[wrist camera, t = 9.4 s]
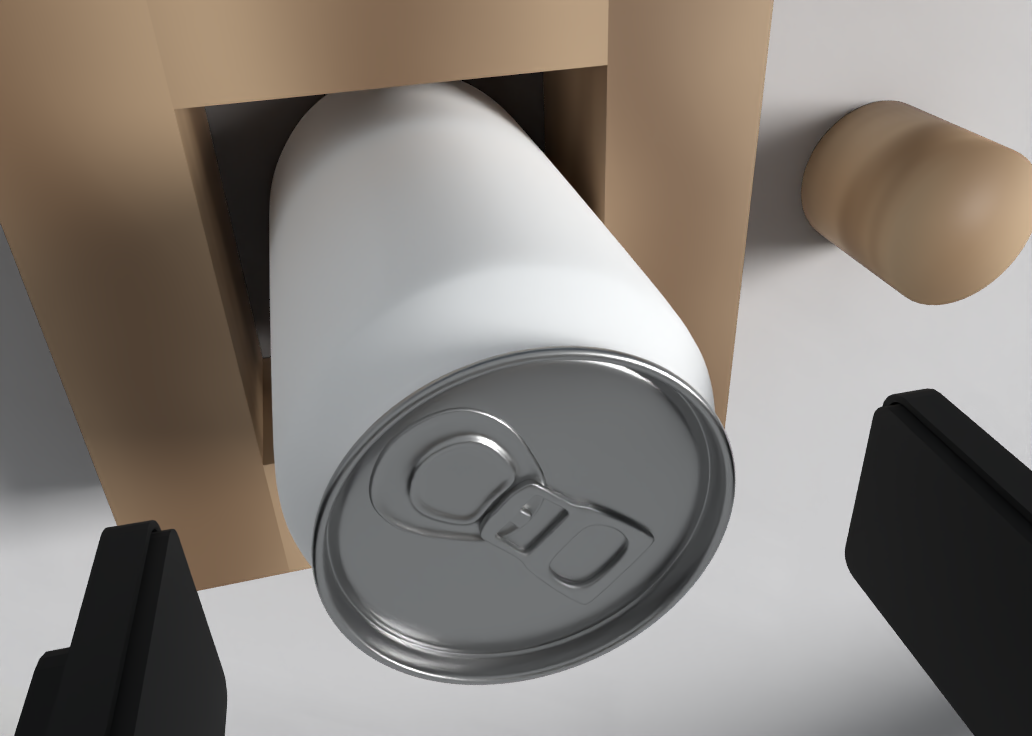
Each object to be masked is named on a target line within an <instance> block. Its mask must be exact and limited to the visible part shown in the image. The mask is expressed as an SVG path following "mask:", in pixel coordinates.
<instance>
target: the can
mask: <svg viewBox="0 0 1032 736" xmlns="http://www.w3.org/2000/svg"><path fill="white" fill-rule="evenodd" d="M269 260H270V328H271V377H272V418H273V448H274V462H275V475H276V484H277V490H278V495H279V500H280V504H281V509H282V512H283V516H284V519H285V522H286V524H287V527H288V529H289V531H290V534H291V536H292V538H293V540H294V541H295V543H296V545H297V546H298V548H299V550H300V551H301V553H302V555H303V556H304V557H305V559H306V560H307V562H308V563H309V564H310V566H311V567H312V569H313V575H314V580H315V584H316V588H317V591H318V594H319V596H320V599H321V601H322V603H323V605H324V607H325V609H326V611H327V613H328V615H329V616H330V618H331V619H332V621H333V622H334V624H335V625H336V626H337V627H338V629H339V630H340V631H341V632H342V633H343V634H344V635H345V637H346V638H348V639H349V640H350V641H351V642H352V643H353V644H354V645H355V646H356V647H358V648H359V649H360V650H361V651H363V652H364V653H366V654H367V655H369V656H370V657H372V658H373V659H375V660H377V661H378V662H380V663H382V664H384V665H386V666H388V667H391V668H393V669H395V670H398V671H400V672H403V673H406V674H408V675H412V676H415V677H419V678H423V679H427V680H432V681H437V682H443V683H451V684H464V685H490V684H503V683H512V682H519V681H525V680H530V679H535V678H539V677H543V676H547V675H551V674H554V673H558V672H561V671H564V670H567V669H570V668H573V667H576V666H578V665H581V664H583V663H586V662H588V661H591V660H593V659H595V658H597V657H599V656H602V655H604V654H606V653H608V652H610V651H611V650H613V649H615V648H617V647H619V646H621V645H622V644H624V643H626V642H627V641H629V640H631V639H632V638H634V637H635V636H637V635H638V634H640V633H641V632H643V631H644V630H645V629H647V628H648V627H650V626H651V625H652V624H653V623H655V622H656V621H657V620H658V619H660V618H661V617H662V616H663V615H664V614H666V613H667V612H668V611H669V610H670V609H671V608H672V607H673V606H674V605H675V604H676V603H677V602H678V601H679V600H680V599H681V598H682V597H683V596H684V595H685V594H686V593H687V592H688V591H689V590H690V588H691V587H692V586H693V585H694V584H695V582H696V581H697V580H698V579H699V577H700V576H701V574H702V573H703V572H704V570H705V569H706V567H707V566H708V564H709V563H710V561H711V559H712V558H713V556H714V554H715V552H716V551H717V549H718V547H719V545H720V543H721V540H722V538H723V536H724V533H725V531H726V528H727V525H728V522H729V519H730V515H731V512H732V507H733V502H734V494H735V465H734V458H733V453H732V449H731V445H730V442H729V439H728V436H727V434H726V431H725V429H724V427H723V425H722V423H721V421H720V419H719V418H718V416H717V415H716V413H715V406H714V397H713V391H712V386H711V381H710V377H709V373H708V370H707V367H706V364H705V361H704V359H703V357H702V354H701V352H700V350H699V348H698V346H697V345H696V343H695V341H694V339H693V338H692V336H691V334H690V332H689V331H688V329H687V327H686V326H685V325H684V323H683V322H682V320H681V319H680V318H679V316H678V315H677V314H676V312H675V311H674V310H673V308H672V307H671V306H670V304H669V303H668V302H667V300H666V299H665V298H664V297H663V295H662V294H661V293H660V292H659V290H658V289H657V288H656V287H655V286H654V284H653V283H652V282H651V281H650V279H649V278H648V277H647V276H646V275H645V273H644V272H643V271H642V270H641V268H640V267H639V266H638V265H637V264H636V262H635V261H634V260H633V259H632V258H631V256H630V255H629V254H628V253H627V252H626V250H625V249H624V248H623V247H622V246H621V244H620V243H619V242H618V241H617V240H616V238H615V237H614V236H613V235H612V234H611V232H610V231H609V230H608V229H607V228H606V226H605V225H604V224H603V223H602V222H601V221H600V219H599V218H598V217H597V216H596V215H595V213H594V212H593V211H592V210H591V209H590V207H589V206H588V205H587V204H586V203H585V202H584V200H583V199H582V198H581V197H580V196H579V194H578V193H577V192H576V191H575V190H574V188H573V187H572V186H571V185H570V184H569V183H568V181H567V180H566V179H565V178H564V177H563V176H562V174H561V173H560V172H559V171H558V170H557V168H556V167H555V166H554V165H553V164H552V163H551V161H550V160H549V159H548V158H547V157H546V156H545V154H544V153H543V152H542V151H541V150H540V149H539V147H538V146H537V145H536V144H535V143H534V142H533V140H532V139H531V138H530V137H529V136H528V135H527V134H526V132H525V131H524V130H523V129H522V128H521V127H520V126H519V124H518V123H517V122H516V121H515V120H514V119H513V118H512V117H511V116H510V115H509V114H508V113H507V112H506V111H505V110H504V109H503V108H502V107H501V106H500V105H499V104H498V103H497V102H495V101H494V100H493V99H492V98H490V97H489V96H487V95H486V94H485V93H483V92H482V91H480V90H478V89H477V88H475V87H473V86H471V85H469V84H467V83H465V82H463V81H460V80H456V81H446V82H436V83H427V84H417V85H407V86H397V87H388V88H378V89H368V90H358V91H349V92H339V93H329V94H328V95H326V96H325V97H323V98H322V99H321V100H319V101H318V102H317V103H316V104H315V105H314V106H313V107H312V108H311V109H310V110H309V111H308V112H307V113H306V114H305V115H304V116H303V118H302V119H301V120H300V122H299V123H298V124H297V126H296V127H295V129H294V130H293V132H292V133H291V135H290V137H289V139H288V141H287V143H286V144H285V147H284V149H283V151H282V153H281V155H280V158H279V160H278V163H277V166H276V169H275V172H274V176H273V180H272V185H271V192H270V209H269Z"/></svg>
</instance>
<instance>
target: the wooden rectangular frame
mask: <svg viewBox="0 0 1032 736" xmlns="http://www.w3.org/2000/svg"><path fill="white" fill-rule="evenodd" d="M773 2H774V0H0V223H1V226H2V228H3V231H4V233H5V236H6V239H7V241H8V244H9V246H10V249H11V252H12V254H13V257H14V259H15V262H16V264H17V267H18V270H19V272H20V275H21V277H22V280H23V283H24V285H25V288H26V290H27V293H28V296H29V298H30V301H31V303H32V306H33V309H34V311H35V314H36V316H37V319H38V321H39V324H40V327H41V329H42V332H43V334H44V337H45V340H46V342H47V345H48V347H49V350H50V353H51V355H52V358H53V360H54V363H55V366H56V368H57V371H58V373H59V376H60V378H61V381H62V384H63V386H64V389H65V391H66V394H67V397H68V399H69V402H70V404H71V407H72V410H73V412H74V415H75V417H76V420H77V423H78V425H79V428H80V430H81V433H82V435H83V438H84V441H85V443H86V446H87V448H88V451H89V454H90V456H91V459H92V461H93V464H94V467H95V469H96V472H97V474H98V477H99V480H100V482H101V485H102V487H103V490H104V492H105V495H106V498H107V500H108V503H109V505H110V508H111V511H112V513H113V516H114V518H115V521H116V524H117V526H119V525H125V524H131V523H137V522H143V521H149V520H155V521H156V522H157V523H158V524H159V526H160V528H161V531H162V530H167V529H175V530H176V532H177V534H178V536H179V539H180V542H181V545H182V548H183V551H184V554H185V557H186V560H187V563H188V566H189V569H190V572H191V575H192V578H193V581H194V584H195V587H196V590H197V591H199V590H204V589H209V588H214V587H219V586H224V585H229V584H234V583H239V582H244V581H249V580H254V579H259V578H264V577H269V576H274V575H279V574H284V573H289V572H294V571H299V570H303V569H308V568H312V567H311V566H310V564H309V563H308V562H307V560H306V559H305V557H304V556H303V555H302V553H301V551H300V550H299V548H298V546H297V545H296V543H295V541H294V540H293V538H292V536H291V534H290V531H289V529H288V527H287V524H286V522H285V519H284V516H283V512H282V509H281V504H280V500H279V495H278V490H277V484H276V475H275V462H274V448H273V418H272V377H271V357H270V358H264V359H263V357H262V353H261V348H260V344H259V340H258V335H257V331H256V327H255V323H254V318H253V314H252V310H251V305H250V301H249V297H248V292H247V288H246V284H245V279H244V275H243V271H242V266H241V262H240V258H239V253H238V249H237V245H236V240H235V236H234V232H233V227H232V223H231V219H230V214H229V210H228V206H227V202H226V197H225V193H224V189H223V184H222V180H221V176H220V171H219V167H218V163H217V158H216V154H215V150H214V145H213V141H212V137H211V132H210V128H209V124H208V119H207V115H206V111H205V106H212V105H222V104H232V103H241V102H251V101H261V100H271V99H280V98H290V97H300V96H310V95H319V94H329V93H339V92H349V91H358V90H368V89H378V88H388V87H397V86H407V85H417V84H427V83H436V82H446V81H456V80H466V79H475V78H485V77H495V76H505V75H514V74H524V73H534V72H543V90H544V139H545V156H546V157H547V158H548V159H549V160H550V161H551V163H552V164H553V165H554V166H555V167H556V168H557V170H558V171H559V172H560V173H561V174H562V176H563V177H564V178H565V179H566V180H567V181H568V183H569V184H570V185H571V186H572V187H573V188H574V190H575V191H576V192H577V193H578V194H579V196H580V197H581V198H582V199H583V200H584V202H585V203H586V204H587V205H588V206H589V207H590V209H591V210H592V211H593V212H594V213H595V215H596V216H597V217H598V218H599V219H600V221H601V222H602V223H603V224H604V225H605V226H606V228H607V229H608V230H609V231H610V232H611V234H612V235H613V236H614V237H615V238H616V240H617V241H618V242H619V243H620V244H621V246H622V247H623V248H624V249H625V250H626V252H627V253H628V254H629V255H630V256H631V258H632V259H633V260H634V261H635V262H636V264H637V265H638V266H639V267H640V268H641V270H642V271H643V272H644V273H645V275H646V276H647V277H648V278H649V279H650V281H651V282H652V283H653V284H654V286H655V287H656V288H657V289H658V290H659V292H660V293H661V294H662V295H663V297H664V298H665V299H666V300H667V302H668V303H669V304H670V306H671V307H672V308H673V310H674V311H675V312H676V314H677V315H678V316H679V318H680V319H681V320H682V322H683V323H684V325H685V326H686V327H687V329H688V331H689V332H690V334H691V336H692V338H693V339H694V341H695V343H696V345H697V346H698V348H699V350H700V352H701V354H702V357H703V359H704V361H705V364H706V367H707V370H708V373H709V377H710V381H711V386H712V391H713V397H714V406H715V413H716V415H717V416H718V418H719V419H720V421H721V423H722V425H723V427H724V429H725V421H726V413H727V404H728V395H729V386H730V378H731V369H732V360H733V351H734V343H735V334H736V325H737V316H738V308H739V299H740V290H741V281H742V273H743V264H744V255H745V246H746V238H747V229H748V220H749V211H750V203H751V194H752V185H753V176H754V168H755V159H756V150H757V142H758V133H759V124H760V115H761V107H762V98H763V89H764V80H765V72H766V63H767V54H768V45H769V37H770V28H771V19H772V10H773Z"/></svg>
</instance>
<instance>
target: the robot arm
mask: <svg viewBox="0 0 1032 736" xmlns="http://www.w3.org/2000/svg"><path fill="white" fill-rule="evenodd" d="M845 559H846V563H847V566H848V569H849V571H850V573H851V574H852V576H853V577H854V579H855V580H856V581H857V583H858V584H859V585H860V587H861V588H862V589H863V591H864V592H865V593H866V594H867V596H868V597H869V598H870V600H871V601H872V602H873V604H874V605H875V606H876V608H877V609H878V610H879V611H880V613H881V614H882V615H883V617H884V618H885V619H886V621H887V622H888V623H889V625H890V626H891V627H892V628H893V630H894V631H895V632H896V634H897V635H898V636H899V638H900V639H901V640H902V642H903V643H904V644H905V645H906V647H907V648H908V649H909V651H910V652H911V653H912V655H913V656H914V657H915V659H916V660H917V661H918V663H919V664H920V665H921V666H922V668H923V669H924V670H925V672H926V673H927V674H928V676H929V677H930V678H931V680H932V681H933V682H934V683H935V685H936V686H937V687H938V689H939V690H940V691H941V693H942V694H943V695H944V697H945V698H946V699H947V700H948V702H949V703H950V704H951V706H952V707H953V708H954V710H955V711H956V712H957V714H958V715H959V716H960V718H961V719H962V720H963V721H964V723H965V724H966V725H967V727H968V728H969V729H970V731H971V732H972V733H973V735H974V736H1032V471H1031V470H1030V469H1029V468H1028V467H1027V466H1025V465H1024V464H1023V463H1022V462H1021V461H1019V460H1018V459H1017V458H1016V457H1015V456H1014V455H1012V454H1011V453H1010V452H1009V451H1008V450H1007V449H1005V448H1004V447H1003V446H1002V445H1001V444H999V443H998V442H997V441H996V440H995V439H994V438H992V437H991V436H990V435H989V434H988V433H987V432H985V431H984V430H983V429H982V428H981V427H979V426H978V425H977V424H976V423H975V422H974V421H972V420H971V419H970V418H969V417H968V416H967V415H965V414H964V413H963V412H962V411H961V410H959V409H958V408H957V407H956V406H955V405H954V404H952V403H951V402H950V401H949V400H948V399H947V398H945V397H944V396H943V395H942V394H941V393H939V392H938V391H936V390H934V389H928V388H927V389H922V390H916V391H910V392H904V393H898V394H893V395H890V396H888V397H887V398H886V400H885V401H884V403H883V406H882V407H880V408H878V409H877V410H876V411H875V413H874V416H873V420H872V425H871V429H870V434H869V439H868V443H867V448H866V453H865V458H864V462H863V467H862V472H861V476H860V481H859V486H858V490H857V495H856V500H855V504H854V509H853V514H852V518H851V523H850V528H849V533H848V537H847V542H846V547H845ZM226 711H227V689H226V681H225V676H224V672H223V669H222V666H221V663H220V660H219V657H218V654H217V651H216V648H215V645H214V642H213V639H212V636H211V633H210V630H209V627H208V624H207V621H206V617H205V614H204V611H203V608H202V605H201V602H200V599H199V596H198V593H197V590H196V587H195V584H194V581H193V578H192V575H191V572H190V569H189V566H188V563H187V560H186V557H185V554H184V551H183V548H182V545H181V542H180V539H179V536H178V534H177V532H176V530H175V529H167V530H162V531H161V528H160V526H159V524H158V523H157V522H156V521H155V520H149V521H143V522H137V523H131V524H125V525H119V526H114V527H108V528H105V529H104V530H103V532H102V534H101V537H100V541H99V544H98V548H97V551H96V555H95V559H94V562H93V566H92V569H91V573H90V577H89V580H88V584H87V588H86V591H85V595H84V598H83V602H82V606H81V609H80V613H79V617H78V620H77V624H76V627H75V631H74V635H73V638H72V642H71V646H70V647H69V648H63V649H58V650H53V651H48V652H45V653H44V655H43V656H42V657H41V658H40V659H39V661H38V664H37V666H36V668H35V671H34V674H33V677H32V680H31V683H30V687H29V690H28V693H27V696H26V700H25V703H24V706H23V709H22V712H21V716H20V719H19V722H18V725H17V728H16V732H15V735H14V736H225V724H226Z"/></svg>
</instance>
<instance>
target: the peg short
mask: <svg viewBox="0 0 1032 736" xmlns="http://www.w3.org/2000/svg"><path fill="white" fill-rule="evenodd" d="M801 201H802V206H803V210H804V213H805V216H806V218H807V220H808V222H809V223H810V225H811V226H812V227H813V228H814V229H815V230H816V231H817V232H818V233H819V234H821V235H822V236H823V237H825V238H826V239H828V240H829V241H830V242H832V243H833V244H834V245H836V246H837V247H838V248H840V249H841V250H842V251H844V252H845V253H847V254H848V255H849V256H851V257H852V258H853V259H855V260H856V261H857V262H859V263H860V264H862V265H863V266H864V267H866V268H867V269H868V270H870V271H871V272H872V273H874V274H875V275H876V276H878V277H879V278H881V279H882V280H883V281H885V282H886V283H887V284H889V285H890V286H891V287H893V288H894V289H896V290H897V291H898V292H900V293H901V294H902V295H904V296H905V297H907V298H908V299H910V300H912V301H914V302H917V303H920V304H926V305H941V304H948V303H952V302H956V301H959V300H961V299H964V298H966V297H969V296H971V295H973V294H975V293H976V292H978V291H980V290H981V289H983V288H984V287H986V286H987V285H989V284H990V283H991V282H993V281H994V280H995V279H996V278H997V277H999V276H1000V275H1001V274H1002V273H1003V272H1004V271H1005V270H1006V269H1007V268H1008V267H1009V266H1010V265H1011V263H1012V262H1013V261H1014V260H1015V259H1016V257H1017V256H1018V255H1019V253H1020V252H1021V250H1022V249H1023V247H1024V246H1025V244H1026V242H1027V241H1028V239H1029V237H1030V235H1031V233H1032V164H1031V163H1030V161H1029V160H1028V159H1027V158H1026V157H1024V156H1023V155H1022V154H1020V153H1018V152H1016V151H1014V150H1012V149H1010V148H1008V147H1005V146H1003V145H1001V144H998V143H996V142H994V141H991V140H989V139H987V138H985V137H982V136H980V135H978V134H975V133H973V132H971V131H968V130H966V129H964V128H961V127H959V126H957V125H955V124H952V123H950V122H948V121H945V120H943V119H941V118H938V117H936V116H934V115H931V114H929V113H927V112H925V111H922V110H920V109H918V108H915V107H913V106H911V105H908V104H906V103H903V102H899V101H878V102H873V103H870V104H867V105H864V106H862V107H860V108H857V109H855V110H853V111H852V112H850V113H849V114H847V115H845V116H844V117H843V118H841V119H840V120H839V121H838V122H836V123H835V124H834V125H833V126H832V127H831V128H830V129H829V130H828V131H827V132H826V134H825V135H824V136H823V137H822V138H821V140H820V141H819V143H818V144H817V145H816V147H815V149H814V151H813V152H812V154H811V156H810V158H809V161H808V163H807V165H806V168H805V171H804V175H803V180H802V187H801Z"/></svg>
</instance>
